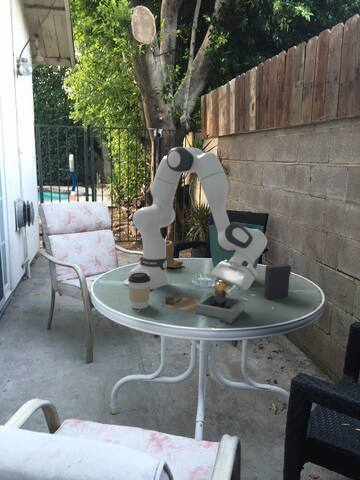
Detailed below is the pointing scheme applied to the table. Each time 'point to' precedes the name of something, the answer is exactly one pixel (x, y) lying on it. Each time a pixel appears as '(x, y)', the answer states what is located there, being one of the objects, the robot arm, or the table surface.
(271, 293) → the grey box
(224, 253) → the flower pot
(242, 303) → the bin
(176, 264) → the wooden bookend
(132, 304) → the coffee cup
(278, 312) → the table surface
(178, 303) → the plate
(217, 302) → the battery cell
